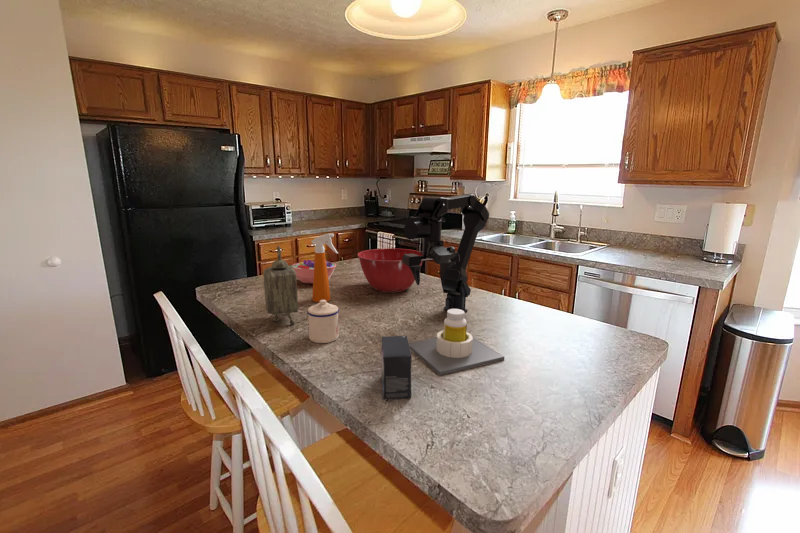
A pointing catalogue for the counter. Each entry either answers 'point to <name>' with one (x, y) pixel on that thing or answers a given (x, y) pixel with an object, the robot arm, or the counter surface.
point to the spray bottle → (321, 268)
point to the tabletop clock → (280, 288)
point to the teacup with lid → (323, 322)
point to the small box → (396, 367)
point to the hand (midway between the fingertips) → (430, 283)
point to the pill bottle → (455, 326)
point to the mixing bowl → (387, 269)
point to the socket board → (454, 362)
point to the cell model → (310, 270)
